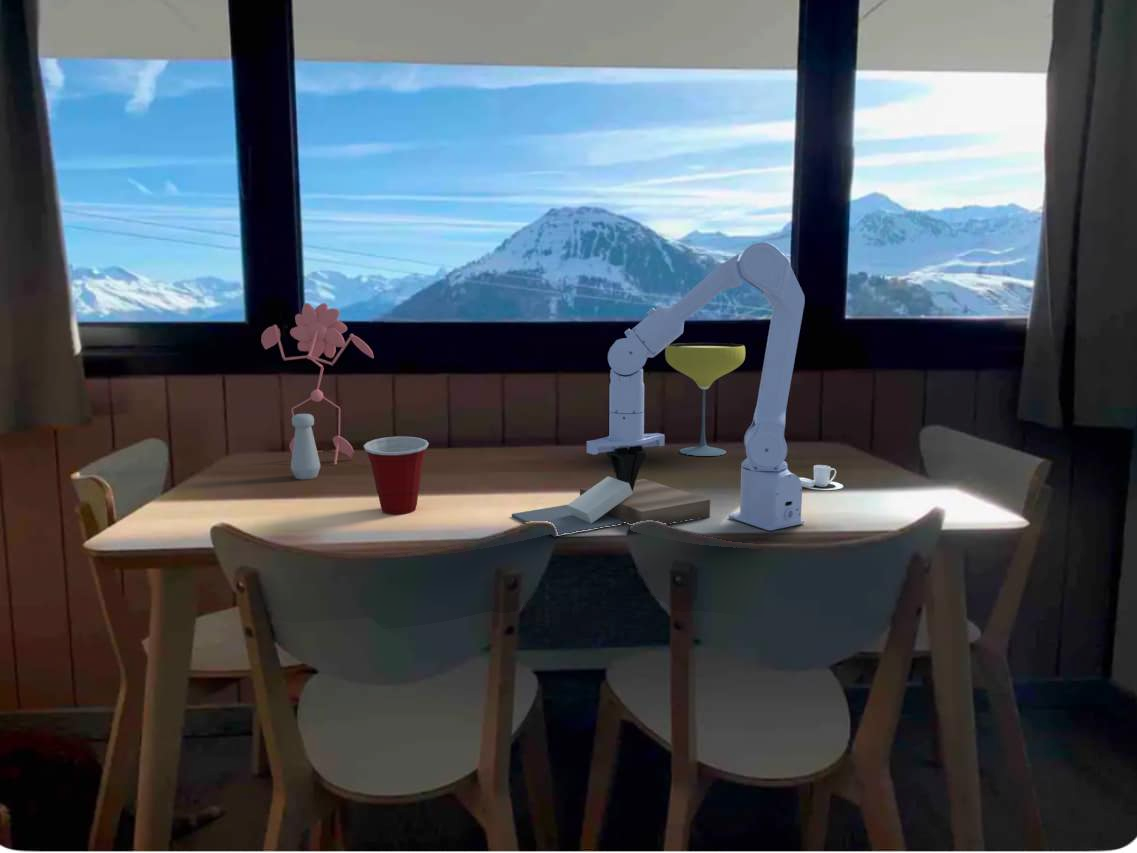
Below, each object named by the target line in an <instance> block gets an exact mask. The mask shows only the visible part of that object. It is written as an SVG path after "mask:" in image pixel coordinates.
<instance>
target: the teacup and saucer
mask: <svg viewBox="0 0 1137 853" xmlns="http://www.w3.org/2000/svg"><path fill="white" fill-rule="evenodd" d="M831 471H834V474H833V476H832V477H830V476H831ZM836 476H837V470H836V469H835V468H831V466H830V465H826V464H825V465H823V464H816V465H813V479H810V478H807V477H799V479H800V481H801V484H802V488H806V489H811V490H817V491H833V490H834V491H836V490H840V489H841V490H842V489H843V488H844V485H843V484H841V483H839V482H837V481H834V479H835V477H836ZM830 478H831V479H830ZM829 484H830V485H834V486H835V487H832V488H826V487H827V486H828V485H829ZM814 486H817V487H814ZM818 487H821V488H818ZM823 487H824V488H823Z"/></svg>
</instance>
